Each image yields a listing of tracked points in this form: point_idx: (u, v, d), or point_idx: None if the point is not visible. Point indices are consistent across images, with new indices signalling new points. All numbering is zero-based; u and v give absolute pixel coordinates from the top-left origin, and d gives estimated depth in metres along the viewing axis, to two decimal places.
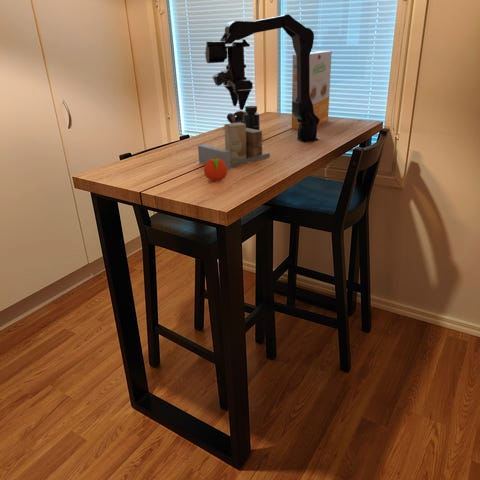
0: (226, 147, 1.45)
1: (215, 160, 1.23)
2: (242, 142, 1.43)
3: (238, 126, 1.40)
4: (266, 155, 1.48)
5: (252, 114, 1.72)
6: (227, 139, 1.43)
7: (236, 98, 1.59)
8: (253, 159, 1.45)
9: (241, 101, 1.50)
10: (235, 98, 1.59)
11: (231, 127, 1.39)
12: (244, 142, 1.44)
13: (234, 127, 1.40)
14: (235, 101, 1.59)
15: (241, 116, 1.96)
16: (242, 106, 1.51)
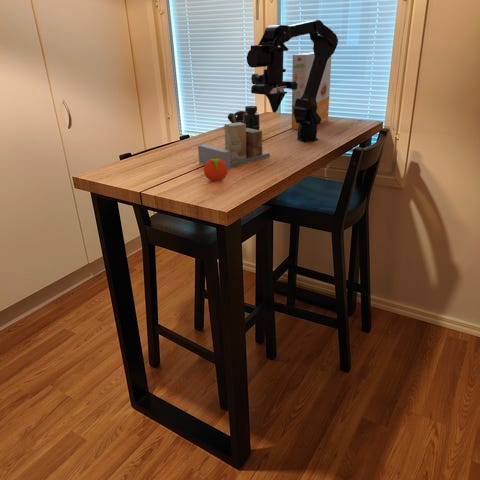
0: (226, 147, 1.45)
1: (215, 160, 1.23)
2: (242, 142, 1.43)
3: (238, 126, 1.40)
4: (266, 155, 1.48)
5: (252, 114, 1.72)
6: (227, 139, 1.43)
7: None
8: (253, 159, 1.45)
9: (272, 104, 1.52)
10: None
11: (231, 127, 1.39)
12: (244, 142, 1.44)
13: (234, 127, 1.40)
14: None
15: (242, 116, 1.96)
16: (273, 109, 1.53)
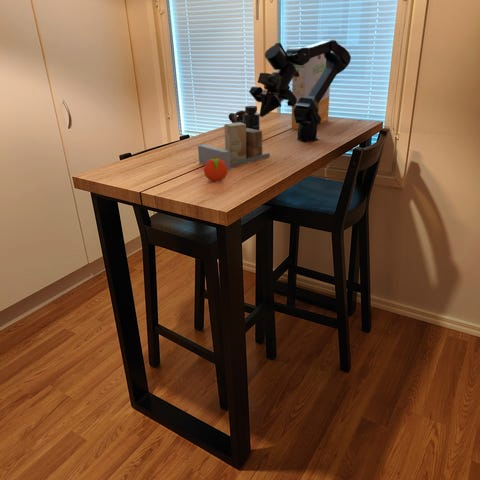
0: (226, 147, 1.45)
1: (215, 160, 1.23)
2: (242, 142, 1.43)
3: (238, 126, 1.40)
4: (266, 155, 1.48)
5: (252, 114, 1.72)
6: (227, 139, 1.43)
7: None
8: (253, 159, 1.45)
9: (267, 109, 1.48)
10: None
11: (231, 127, 1.39)
12: (244, 142, 1.44)
13: (234, 127, 1.40)
14: None
15: None
16: (264, 114, 1.48)
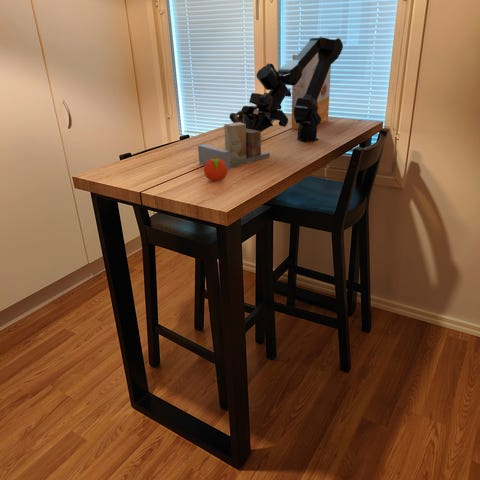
0: (226, 147, 1.45)
1: (215, 160, 1.23)
2: (242, 142, 1.43)
3: (238, 126, 1.40)
4: (266, 155, 1.48)
5: None
6: (227, 139, 1.43)
7: None
8: (253, 159, 1.45)
9: (258, 129, 1.48)
10: (256, 129, 1.49)
11: (231, 127, 1.39)
12: (244, 142, 1.44)
13: (234, 127, 1.40)
14: None
15: None
16: None
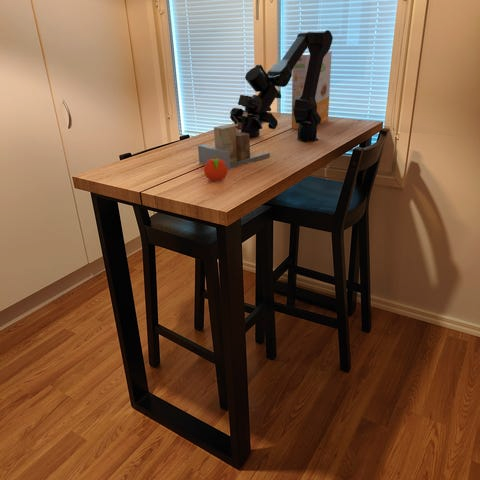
0: None
1: (215, 160, 1.23)
2: (233, 144, 1.41)
3: (229, 128, 1.37)
4: (266, 155, 1.48)
5: None
6: (218, 142, 1.39)
7: None
8: (253, 159, 1.45)
9: (247, 131, 1.45)
10: None
11: (223, 130, 1.36)
12: (235, 144, 1.41)
13: (225, 129, 1.37)
14: None
15: None
16: None
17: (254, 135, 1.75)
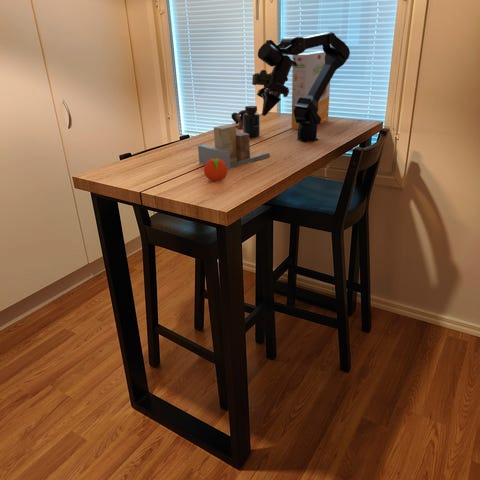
0: None
1: (215, 160, 1.23)
2: (233, 144, 1.41)
3: (229, 128, 1.37)
4: (266, 155, 1.48)
5: (252, 114, 1.72)
6: (218, 142, 1.39)
7: None
8: (253, 159, 1.45)
9: (267, 107, 1.50)
10: None
11: (223, 130, 1.36)
12: (235, 144, 1.41)
13: (225, 129, 1.37)
14: None
15: None
16: (265, 112, 1.51)
17: (254, 135, 1.75)
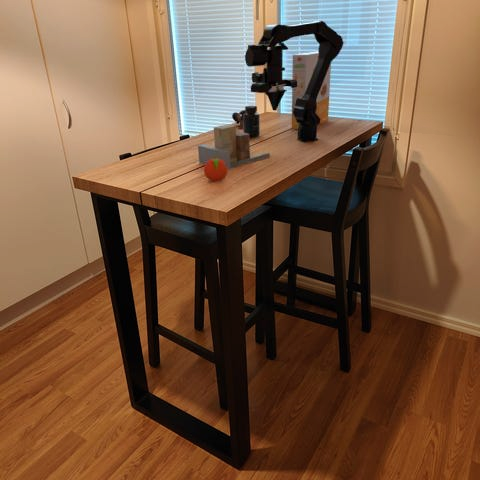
0: None
1: (215, 160, 1.23)
2: (233, 144, 1.41)
3: (229, 128, 1.37)
4: (266, 155, 1.48)
5: (252, 114, 1.72)
6: (218, 142, 1.39)
7: None
8: (253, 159, 1.45)
9: (272, 102, 1.55)
10: None
11: (223, 130, 1.36)
12: (235, 144, 1.41)
13: (225, 129, 1.37)
14: None
15: None
16: (273, 107, 1.56)
17: (254, 135, 1.75)
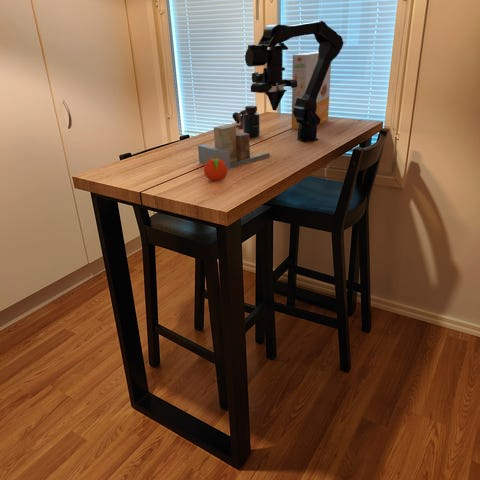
0: None
1: (215, 160, 1.23)
2: (233, 144, 1.41)
3: (229, 128, 1.37)
4: (266, 155, 1.48)
5: (252, 114, 1.72)
6: (218, 142, 1.39)
7: None
8: (253, 159, 1.45)
9: (272, 102, 1.55)
10: None
11: (223, 130, 1.36)
12: (235, 144, 1.41)
13: (225, 129, 1.37)
14: None
15: None
16: (273, 107, 1.56)
17: (254, 135, 1.75)
